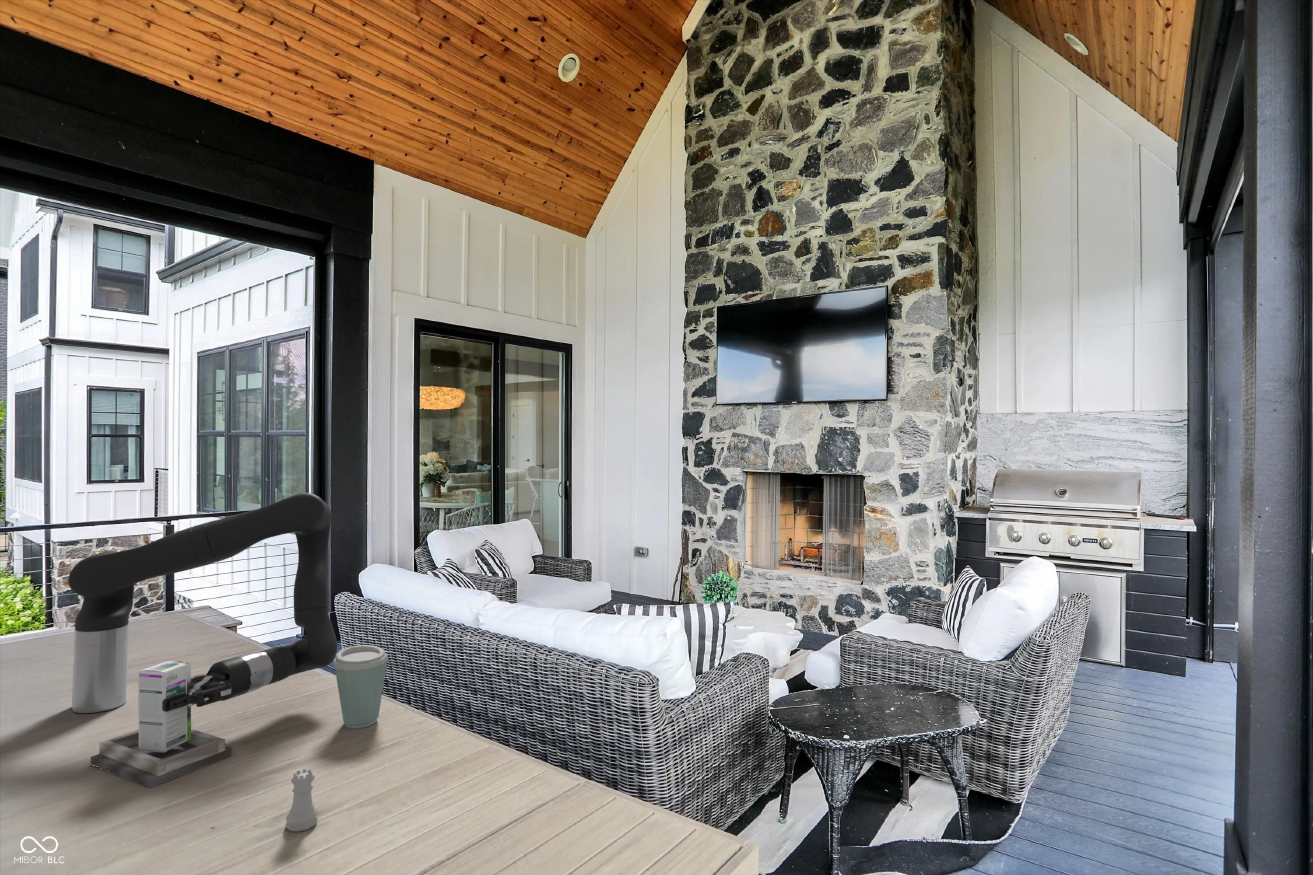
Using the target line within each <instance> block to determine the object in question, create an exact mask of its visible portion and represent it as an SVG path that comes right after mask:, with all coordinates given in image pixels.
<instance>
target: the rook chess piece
mask: <svg viewBox="0 0 1313 875" xmlns="http://www.w3.org/2000/svg"><path fill="white" fill-rule="evenodd" d="M315 778H316V776H315V775H314V774H313V771H312V769H310V768H309V769H308V770H307V768H303V769H302V772H301V770H300V769H299V770H297V771H296V772H294V773H293V777H292V779H291V780H290V782H291V784H292V785H293V789H292V792H293V799H292V804H291V807H290V809H289V812H288V813H287V816H286V818H285V820H286V822H285V827H286V829H287V831H289V832H291V833H293V832H294V833H299V832H300V833H301V832H304V831H308V830H309V829H311V828H313V827H314V826H315V825H316V824H317V822H318V820H319V818H318V811H317V809H316V807H315V805H314V803H313V797H312V790H313V788H314V787H313V785H312V783H313V781H314V780H315Z"/></svg>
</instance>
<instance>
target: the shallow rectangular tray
mask: <svg viewBox="0 0 1313 875" xmlns="http://www.w3.org/2000/svg"><path fill="white" fill-rule="evenodd" d="M98 745H99V747H98V748H99V749H98V754H95V755H91V756H90V765H91V764H92V765H95V766H98V767H99V768H101V769H100V770H102V769H104V770H103V771H105V770H107V771H109V772H108V773H110V772H111V773H110V774H112V773H114V774H113V775H115V774H116V775H115V776H118V777H120V776H121V777H120V778H123V779H125V780H128V781H131V782H133V783H135V784H138V785H139V786H140V785H141V786H143V787H146V788H148V789H152V788H154V787H156V786H159V785H162V784H165V783H167V782H169V781H172V780H174V779H177V778H179V777H182V776H184V775H187V774H189V773H191V772H194V771H197V770H199V769H201V768H205V767H207V766H209V765H211V764H212V765H213V764H215V763H217V762H221V761H222V760H225V759H227V758H230V757H232V756H233V748H232V746H228V745H226V738H223V737H218V736H215V735H212V734H209V733H206V732H203V731H200V730H197V729H193V728H191V739H190V740H189V741H186V742H184V743H182V744H180V745H178V746H176V747H174V748H172V749H170V750H168V751H167V752H165V753H163V752H152V751H145V750H140V749H139V729H138V730H135V731H131V732H129V733H125V734H122V735H119V736H116V737H113V738H109V739H106V740H103V741H101V742H99V744H98ZM231 755H232V756H231ZM229 756H230V757H229ZM92 765H91V766H92ZM99 768H98V769H99ZM107 771H106V772H107Z"/></svg>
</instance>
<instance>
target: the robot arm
mask: <svg viewBox="0 0 1313 875" xmlns="http://www.w3.org/2000/svg"><path fill="white" fill-rule="evenodd" d="M331 524H332V511H331V508H330V506H329V505H328V504H327V503H326V502H325V501H324V500H323V499H322V498H321V497H320V496H318V495H316V494H314V493H309V492H301V493H296V494H294V495H291V496H289V497H286V498H283V499H280V500H278V501H275V502H273V503H270V504H268V505H265V506H263V507H260V508H256V509H253V510H250V511H245V512H242V513H238V514H234V515H230V516H227V517H223V518H219V519H216V520H212V521H207V522H204V523H200V524H196V525H194V526H189V527H187V528H184V529H182V530H179V531H176V532H174V533H171V534H168V535H166V536H164V537H161V538H158V539H156V540H154V541H151V542H149V543H145V544H143V545H140V546H137V547H133V548H131V549H129V548H128V549H124V550H121V551H117V550H107V551H106V550H105V551H102V552H99V553H96V554H93V555H90V556H87V557H85V558H83V559H82V560H79V562H78V563H77V564H75V565H74V566H73V567H72V569H71V570H70V572H69V575H68V579H67V580H68V581H67V582H68V586H69V588H70V589H71V591H72V592H74V594H76V595H78V596H80V597H83V602H82V605H81V608H80V609H79V612H77V615H76V617H75V620H74V640H73V642H74V643H73V644H74V646H73V665H72V691H71V692H72V693H71V694H72V696H71V707H72V708H71V711H72V712H74V713H77V714H92V713H99V712H100V713H101V712H104V711H105V712H106V711H109V710H113V709H115V708H118V707H120V706H123V705H124V704H125V703H127V686H128V685H127V684H128V657H129V656H128V655H129V654H128V652H129V649H128V648H129V622H130V621H129V619H130V614H131V611H132V609H133V604H134V594H135V592H134V591H135V584H138V583H141V582H143V581H147V580H151V579H154V578H158V577H161V576H168V575H173V574H178V573H181V572H186V571H190V570H194V569H197V568H201V567H205V566H208V565H212V564H215V563H219V562H222V561H224V560H228V559H229V558H232V557H235V556H236V555H239V554H240V553H242V552H244V551H245V550H247V549H249V548H251V547H252V546H254V545H256V544H257V543H259V542H262V541H264V540H268V539H270V538H274V537H278V536H282V535H286V534H292V533H294V535H295V538H296V542H297V543H296V544H297V552H298V553H297V554H298V557H297V558H298V559H297V568H296V572H295V573H296V574H295V579H294V585H293V612H294V613H293V619H294V624H295V625H296V626H297V627H301V628H304V629H305V633H306V637H305V638H302V639H299V640H295V641H292V642H290V643H288V644H284V645H281V646H275V647H272V648H267V649H264V650H260V651H256V652H249V653H245V654H242V655H239V656H235V657H231V658H227V659H224V660H220V661H217V662H215V663H213V664H212V665H211V666H210V667H209V670H208V671H207V673H206V674H204V673H200V674H195V675H194V676H191V690H190V691H188V692H187V695H186V693H182V694H179V695H176V696H172V697H169V698H166V699H164V700H163V701H162V710H163V711H165V712H168V711H171V710H174V709H177V708H181V707H184V706H186V705H187V706H191V707H193V706H196V707H197V708H201V707H204V706H208V705H211V704H214V703H217V702H223V701H227V700H230V699H234V698H236V697H240V696H242V695H246V694H248V693H251V692H254V691H257V690H259V689H261V688H264V687H265V686H268V685H271V684H274V683H278V682H280V681H283V680H285V679H288V678H289V677H291V676H293V675H294V676H295V675H298V674H300V673H305V672H308V671H313V670H316V669H320V668H325V667H327V666H329V665H331V664H333V660H334V659H335V658H336V654H337V653H338V640H337V636H336V633H335V630H334V627H333V624H332V620H331V618H330V615H329V592H328V590H329V589H328V561H327V560H328V544H329V538H330V530H331Z"/></svg>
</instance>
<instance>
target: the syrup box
mask: <svg viewBox="0 0 1313 875" xmlns="http://www.w3.org/2000/svg"><path fill="white" fill-rule="evenodd" d="M191 665H192V664H191V662H188V661H181V660H165V661H163V662H161V663H157V664H154V665H152V666H149V667H147V668H144V669H143V668H142V669H140V670H139V671H138V673H137V674H138V680H137V681H138V682H137V683H138V684H137V685H138V687H137V689H138V690H137V691H138V692H137V693H138V696H137V697H138V698H137V699H138V700H137V701H138V705H137V706H138V710H137V712H138V730H139V749H140V750H145V751H152V752H163V753H165V752H167V751H168V750H170V749H172V748H174V747H176V746H178V745H180V744H182V743H184V742H186V741H189V740H190V739H191V729H192V706H187V705H186V706H184V707H181V708H177V709H174V710H171V711H168V712H165V711H163V710H162V701H163V700H164V699H166V698H169V697H172V696H176V695H179V694H182V693H186V695H187V692H188V691H190V690H191V677H192V670H191V669H192V666H191Z"/></svg>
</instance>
